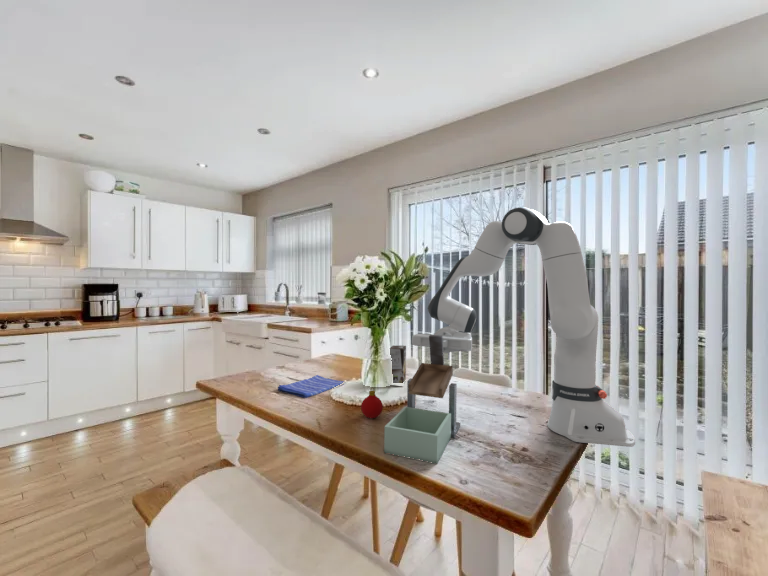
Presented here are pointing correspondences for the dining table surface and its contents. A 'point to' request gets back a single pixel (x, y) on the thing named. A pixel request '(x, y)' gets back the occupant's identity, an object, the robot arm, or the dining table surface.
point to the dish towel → (309, 386)
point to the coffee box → (398, 363)
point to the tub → (418, 434)
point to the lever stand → (452, 406)
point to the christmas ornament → (371, 405)
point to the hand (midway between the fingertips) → (436, 344)
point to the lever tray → (432, 372)
